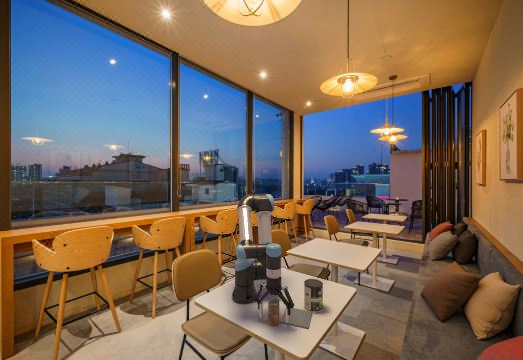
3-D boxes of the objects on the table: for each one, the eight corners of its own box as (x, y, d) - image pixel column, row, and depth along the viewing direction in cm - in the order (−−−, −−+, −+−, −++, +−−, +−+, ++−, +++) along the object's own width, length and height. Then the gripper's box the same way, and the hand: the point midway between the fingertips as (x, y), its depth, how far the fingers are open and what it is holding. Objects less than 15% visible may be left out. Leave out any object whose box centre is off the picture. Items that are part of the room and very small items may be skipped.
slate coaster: (280, 323, 115) (280, 321, 115) (286, 308, 128) (286, 306, 128) (308, 329, 111) (308, 327, 111) (312, 313, 124) (312, 311, 124)
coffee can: (325, 306, 131) (325, 281, 130) (319, 315, 122) (319, 288, 122) (308, 300, 136) (308, 277, 136) (301, 309, 127) (301, 283, 127)
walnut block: (268, 324, 114) (268, 302, 114) (270, 319, 118) (270, 298, 118) (277, 326, 112) (276, 304, 112) (279, 321, 117) (279, 299, 117)
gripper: (247, 275, 116) (248, 317, 116) (297, 282, 108) (297, 328, 107) (253, 270, 123) (253, 309, 123) (299, 276, 115) (300, 319, 114)
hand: (273, 318), depth 115 cm, fingers open, 13 cm apart
